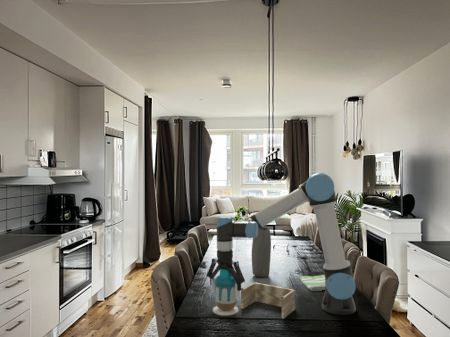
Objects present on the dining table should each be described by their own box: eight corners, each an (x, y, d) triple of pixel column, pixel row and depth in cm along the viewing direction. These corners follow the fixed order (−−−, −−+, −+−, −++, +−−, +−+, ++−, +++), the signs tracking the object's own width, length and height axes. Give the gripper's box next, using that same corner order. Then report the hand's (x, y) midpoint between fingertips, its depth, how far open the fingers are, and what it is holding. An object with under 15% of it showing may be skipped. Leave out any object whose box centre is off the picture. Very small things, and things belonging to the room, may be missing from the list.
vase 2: (257, 272, 226) (257, 226, 227) (274, 275, 219) (273, 227, 220) (247, 276, 216) (247, 228, 217) (265, 280, 209) (264, 230, 210)
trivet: (243, 308, 165) (243, 307, 165) (229, 317, 155) (229, 316, 155) (222, 303, 171) (222, 302, 171) (207, 312, 162) (207, 310, 162)
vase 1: (215, 305, 169) (215, 265, 169) (237, 305, 168) (237, 265, 169) (214, 313, 158) (213, 271, 159) (237, 313, 158) (236, 271, 158)
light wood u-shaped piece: (295, 309, 164) (295, 288, 164) (283, 319, 152) (282, 296, 153) (254, 300, 176) (254, 280, 176) (240, 308, 165) (240, 288, 165)
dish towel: (310, 292, 188) (310, 285, 189) (298, 279, 211) (297, 273, 211) (340, 291, 190) (340, 284, 190) (325, 278, 213) (325, 272, 213)
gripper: (251, 251, 160) (252, 297, 159) (208, 245, 174) (208, 287, 173) (243, 254, 154) (243, 302, 153) (199, 248, 168) (199, 292, 167)
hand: (225, 294), depth 163 cm, fingers open, 13 cm apart
